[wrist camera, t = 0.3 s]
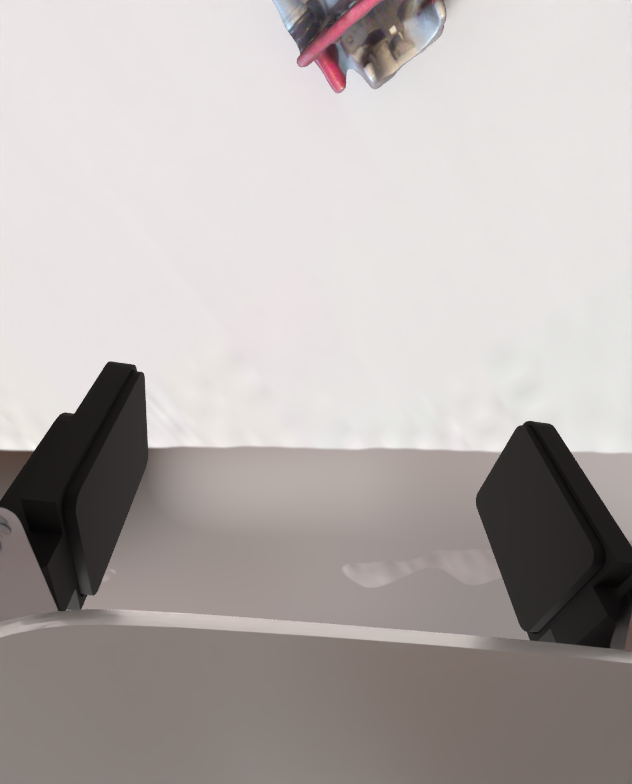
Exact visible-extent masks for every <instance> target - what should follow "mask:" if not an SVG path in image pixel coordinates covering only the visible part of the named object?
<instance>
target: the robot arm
mask: <svg viewBox="0 0 632 784" xmlns="http://www.w3.org/2000/svg"><path fill="white" fill-rule="evenodd" d="M147 460H148V441H147V419H146V398H145V377H144V373H143V372H137V369H136V366H135V365H132V364H125V363H118V362H108V363H107V364H106V365H105V367H104V368H103V370H102V372H101V373H100V375H99V376H98V378H97V379H96V381H95V382H94V384H93V386H92V387H91V389H90V390H89V392H88V393H87V395H86V396H85V398H84V400H83V401H82V403H81V404H80V406H79V407H78V409H77V410H76V412H75V414H72V413H62V414H60V415H59V417H58V418H57V419H56V420H55V422H54V423H53V424H52V426H51V427H50V429H49V430H48V432H47V433H46V435H45V436H44V438H43V439H42V441H41V442H40V444H39V445H38V446H37V448H36V449H35V451H34V452H33V454H32V455H31V457H30V458H29V460H28V461H27V463H26V464H25V465H24V467H23V469H22V470H21V471H20V473H19V474H18V476H17V477H16V479H15V480H14V482H13V483H12V485H11V486H10V488H9V489H8V490H7V492H6V493H5V495H4V496H3V498H2V499H1V501H0V784H632V547H631V545H630V543H629V542H628V540H627V539H626V537H625V536H624V534H623V533H622V531H621V529H620V528H619V526H618V525H617V523H616V522H615V520H614V519H613V517H612V516H611V514H610V512H609V511H608V509H607V508H606V506H605V505H604V503H603V502H602V500H601V499H600V497H599V495H598V494H597V492H596V491H595V489H594V488H593V486H592V485H591V483H590V482H589V480H588V478H587V477H586V475H585V474H584V472H583V471H582V469H581V468H580V466H579V465H578V463H577V461H576V460H575V458H574V457H573V455H572V454H571V452H570V451H569V449H568V447H567V446H566V444H565V443H564V441H563V440H562V438H561V437H560V435H559V434H558V432H557V430H556V429H555V428H554V426H553V425H551V424H547V423H540V422H533V421H527V422H525V423H524V424H523V425H522V426H518V427H517V428H516V429H515V431H514V433H513V434H512V436H511V438H510V440H509V441H508V443H507V445H506V446H505V448H504V450H503V451H502V453H501V455H500V457H499V458H498V460H497V462H496V463H495V465H494V467H493V468H492V470H491V472H490V473H489V475H488V477H487V478H486V480H485V482H484V483H483V485H482V487H481V488H480V490H479V492H478V494H477V497H476V506H477V509H478V512H479V515H480V517H481V520H482V523H483V526H484V528H485V531H486V534H487V536H488V539H489V542H490V545H491V547H492V550H493V553H494V556H495V559H496V561H497V564H498V567H499V569H500V572H501V575H502V578H503V580H504V583H505V586H506V588H507V591H508V594H509V597H510V599H511V602H512V605H513V608H514V610H515V613H516V616H517V619H518V621H519V624H520V626H521V628H522V629H523V630H524V631H527V633H528V636H529V639H530V641H529V640H518V639H506V638H495V637H483V636H472V635H458V634H448V633H436V632H423V631H412V630H399V629H387V628H375V627H374V628H373V627H362V626H349V625H335V624H325V623H312V622H299V621H285V620H272V619H259V618H245V617H233V616H232V617H231V616H219V615H206V614H189V613H171V612H155V611H137V610H93V609H90V610H89V609H85V610H81V609H82V606H83V604H84V601H85V599H86V597H87V595H95V594H96V593H97V591H98V588H99V586H100V584H101V581H102V579H103V576H104V574H105V571H106V568H107V566H108V563H109V561H110V558H111V556H112V553H113V551H114V548H115V545H116V543H117V540H118V537H119V535H120V532H121V530H122V527H123V525H124V522H125V520H126V517H127V514H128V512H129V509H130V507H131V504H132V502H133V499H134V496H135V494H136V491H137V489H138V486H139V484H140V481H141V479H142V476H143V474H144V471H145V468H146V464H147ZM66 609H68V610H71V611H66Z"/></svg>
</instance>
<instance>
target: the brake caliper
mask: <svg viewBox="0 0 632 784" xmlns="http://www.w3.org/2000/svg"><path fill="white" fill-rule="evenodd" d="M272 1H273V2H274V4H275V6H276V7H277V9H278V11H279V13H280V15H281V18H282V21H283V23H284V25H285V27H286V29H287V30H288V32H289V33H290V35H291V36H292V37H293V39H294V40H295V42H296V44H297V46H298V48H299V50H300V54H301V55H300V56H299V57H298V59H297V64H298V65H299V66H300V67H305V66H308V65H309V64H310V63H312V62H313V61H314V62H315V63H316V64H317V65H318V66H319V68H320V69H321V70H322V72H323V74H324V75H325V77H326V79H327V81H328V83H329V84H330V86H331V87H332V89H333V90H334V91H335V92H336V93H341V92H342V91H343V90H344V89H345V87H346V74H347V70H348V69H354V70H355V71H356V72H358V73H359V74H360V75H362V77H363V78H364V79H365V80H366V82H367V83H368V84H369V85H370V87H371V88H373V89H378V88H379V87H381V86H382V85H383V84H384V83H386V82H387V81H389V80H390V79H391V78H392V77H393V76H394V75H395V74H396V73H397V71H398V70H399V69H400V68H401V67H402V66H403V65H404V64H406V63H407V62H408V61H410V60H411V59H412V58H413V57H415V56H417V55H418V54H420V53H421V52H423V51H424V50H425V49H426V48H427V47H428V46H429V45H431V44H432V43H433V42H434V41H436V40H437V39H438V38H439V37H440V36H441V34H442V31H443V28H444V23H445V20H446V9H445V5H444V3H443V0H272Z"/></svg>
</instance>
